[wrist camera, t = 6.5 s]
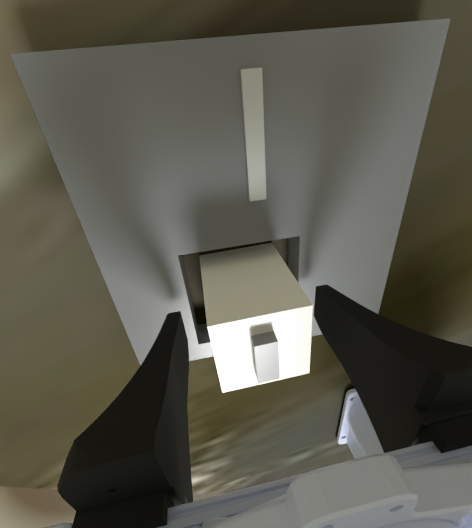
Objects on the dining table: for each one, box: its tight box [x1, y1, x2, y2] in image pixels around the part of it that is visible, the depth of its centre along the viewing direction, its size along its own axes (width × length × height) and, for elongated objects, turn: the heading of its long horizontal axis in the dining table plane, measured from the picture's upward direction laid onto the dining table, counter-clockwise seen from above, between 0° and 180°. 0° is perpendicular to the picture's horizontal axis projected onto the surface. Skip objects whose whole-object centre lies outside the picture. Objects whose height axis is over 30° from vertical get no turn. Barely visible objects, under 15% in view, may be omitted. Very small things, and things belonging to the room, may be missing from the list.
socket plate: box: [10, 18, 451, 365], centre depth 14 cm, size 16×16×2 cm
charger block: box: [199, 243, 313, 393], centre depth 14 cm, size 4×4×7 cm
